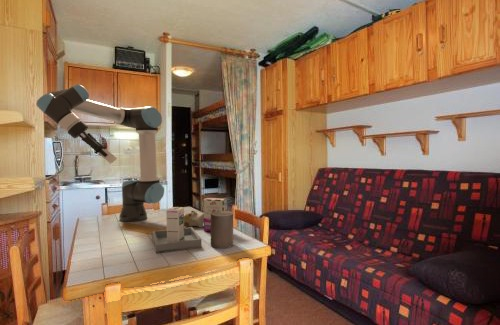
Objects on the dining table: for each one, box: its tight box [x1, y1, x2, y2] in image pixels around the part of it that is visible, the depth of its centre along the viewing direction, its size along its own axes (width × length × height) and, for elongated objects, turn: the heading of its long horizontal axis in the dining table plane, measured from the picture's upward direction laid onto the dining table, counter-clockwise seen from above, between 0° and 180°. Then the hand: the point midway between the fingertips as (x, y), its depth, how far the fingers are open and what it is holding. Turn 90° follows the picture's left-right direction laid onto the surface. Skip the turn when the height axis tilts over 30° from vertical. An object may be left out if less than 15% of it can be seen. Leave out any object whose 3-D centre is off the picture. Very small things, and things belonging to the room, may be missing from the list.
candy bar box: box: [203, 197, 228, 233], centre depth 140 cm, size 11×5×16 cm, turn 71°
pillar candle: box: [210, 210, 234, 249], centre depth 120 cm, size 10×10×15 cm
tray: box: [152, 226, 202, 254], centre depth 122 cm, size 20×18×4 cm
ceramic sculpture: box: [184, 210, 204, 228], centre depth 150 cm, size 11×9×15 cm
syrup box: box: [165, 206, 185, 242], centre depth 122 cm, size 6×6×14 cm
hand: (114, 161), depth 125 cm, fingers open, 13 cm apart
